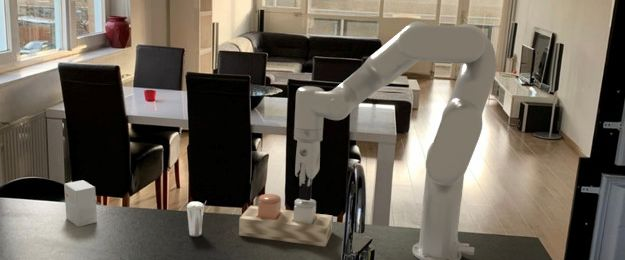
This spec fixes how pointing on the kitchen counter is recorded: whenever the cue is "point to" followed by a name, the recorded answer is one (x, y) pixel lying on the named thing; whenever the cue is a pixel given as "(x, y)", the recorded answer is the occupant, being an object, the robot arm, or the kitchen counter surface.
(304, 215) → the grey button
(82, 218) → the small box
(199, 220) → the milkshake
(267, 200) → the terracotta button
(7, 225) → the kitchen counter surface
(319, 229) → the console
